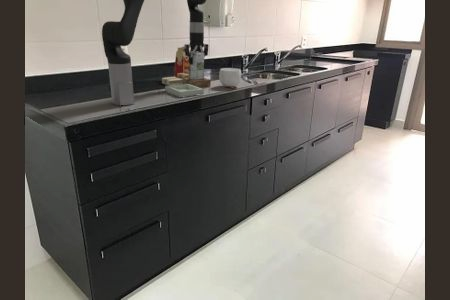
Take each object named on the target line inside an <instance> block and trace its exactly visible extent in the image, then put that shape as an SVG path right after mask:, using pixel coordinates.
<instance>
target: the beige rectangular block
mask: <svg viewBox="0 0 450 300" xmlns="http://www.w3.org/2000/svg"><path fill="white" fill-rule="evenodd" d="M161 84H162V85H165V86H170V85H180V84H183V79H180V78H177V77H175V76H167V77H161Z"/></svg>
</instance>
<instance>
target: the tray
mask: <svg viewBox="0 0 450 300" xmlns="http://www.w3.org/2000/svg"><path fill="white" fill-rule="evenodd" d="M164 87H165V88H164V89H165V92H166V93H167V94H170V93H171V95H173V94H174V95H173V96H175V95H177V96H176V97H178V96H180V97H183V96H190V95H197V94H204V93H205V91H204V88H199V87H196V86H193V85H190V84H180V85H170V86H168V85H165V86H164ZM180 97H179V98H180ZM183 98H184V97H183Z"/></svg>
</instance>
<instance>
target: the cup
mask: <svg viewBox="0 0 450 300" xmlns="http://www.w3.org/2000/svg"><path fill="white" fill-rule="evenodd" d="M218 73H219V75H218V78H219V79H218V80H219V82H220V85H222V86H224V88H226V87H234V88H235V87H236V86H238V85H240V83H241V81H242V70H241V69H240V68H237V67H236V68H235V67H225V68H224V67H223V68H220V70H219V72H218Z"/></svg>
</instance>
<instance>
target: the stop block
mask: <svg viewBox="0 0 450 300" xmlns="http://www.w3.org/2000/svg"><path fill="white" fill-rule="evenodd" d="M177 78H180V79H183V78H189V74H186V73H177Z"/></svg>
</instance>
